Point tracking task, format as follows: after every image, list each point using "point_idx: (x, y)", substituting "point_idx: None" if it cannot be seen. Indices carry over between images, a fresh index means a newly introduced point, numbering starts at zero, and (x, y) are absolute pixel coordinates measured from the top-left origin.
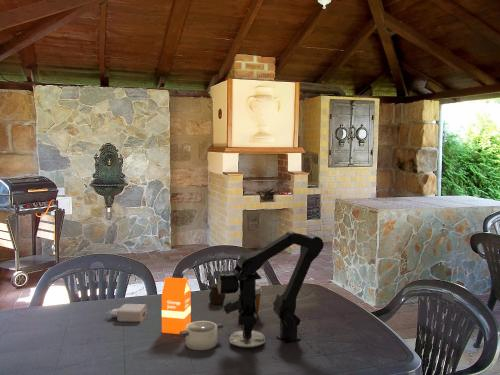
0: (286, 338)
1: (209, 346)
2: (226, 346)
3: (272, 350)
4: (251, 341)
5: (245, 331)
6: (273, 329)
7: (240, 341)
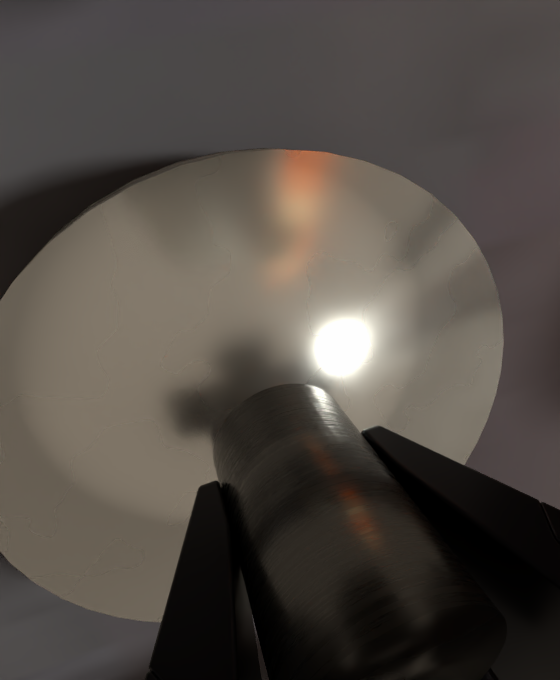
0: None
1: None
2: (56, 112)
3: (138, 637)
4: (144, 537)
5: (172, 606)
6: (545, 491)
7: (83, 409)
